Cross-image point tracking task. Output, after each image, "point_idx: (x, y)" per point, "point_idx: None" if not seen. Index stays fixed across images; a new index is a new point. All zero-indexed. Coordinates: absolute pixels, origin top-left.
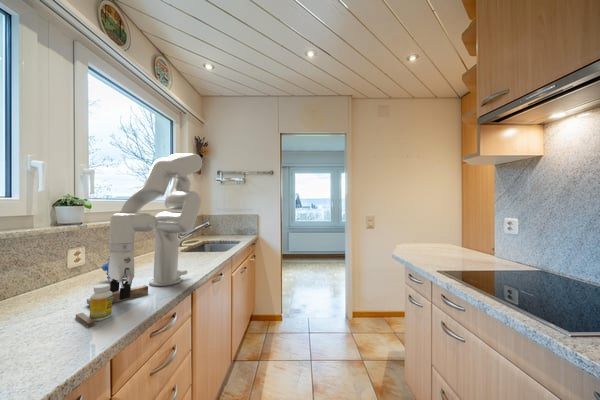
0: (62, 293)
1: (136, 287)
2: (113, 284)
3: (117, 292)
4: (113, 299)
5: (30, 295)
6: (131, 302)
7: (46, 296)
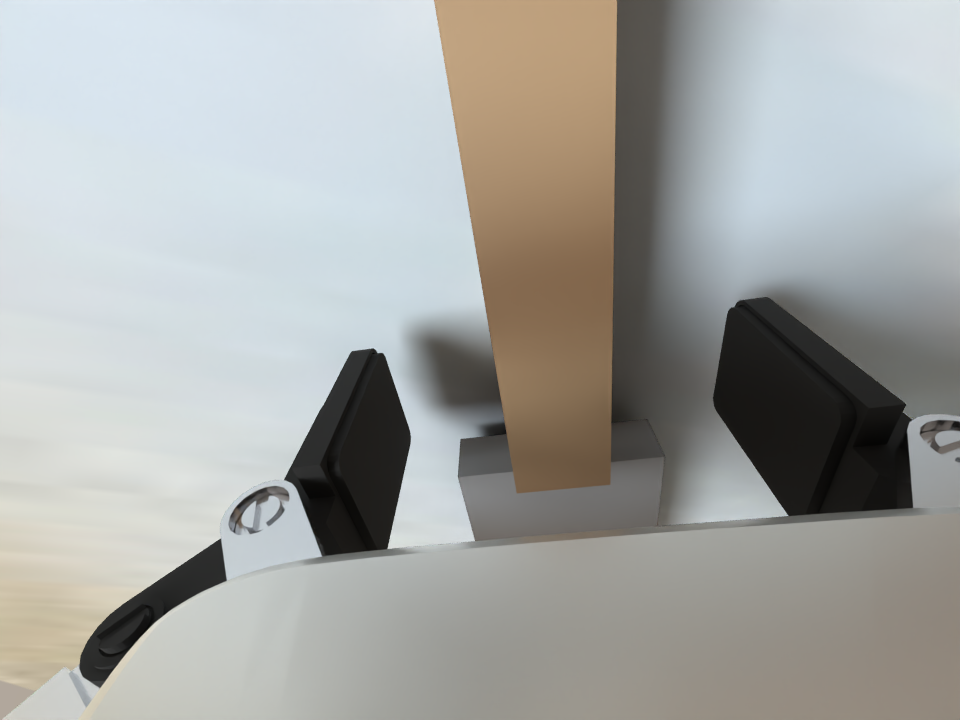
0: (33, 587)
1: (493, 116)
2: (371, 517)
3: (573, 435)
4: (659, 448)
5: (33, 665)
6: (783, 263)
7: (90, 633)
